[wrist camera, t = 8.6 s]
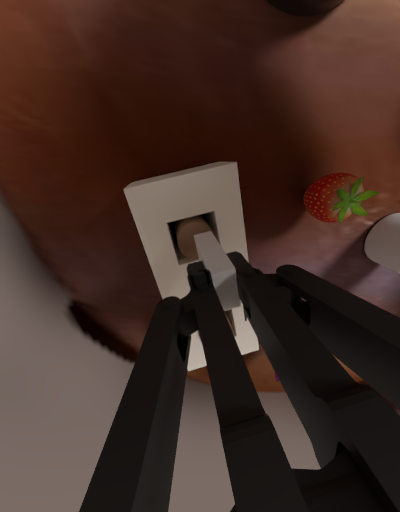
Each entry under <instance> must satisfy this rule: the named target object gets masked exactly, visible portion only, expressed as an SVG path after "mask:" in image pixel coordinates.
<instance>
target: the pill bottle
mask: <svg viewBox="0 0 400 512" xmlns="http://www.w3.org/2000/svg"><path fill="white" fill-rule="evenodd" d="M364 249H365V253H366V255H367V257H368V258H369V259H371V260H372V261H374V262H376V263H378V264H380V265H382V266H384V267H386V268H388V269H390V270H392V271H394V272H396V273H398V274H400V213H395V214H391V215H388V216H386V217H384V218H383V219H381V220H380V221H379V222H378V223H377V224H376V225H375V226H374V227H373V228H372V229H371V231H370V232H369V234H368V236H367V238H366V241H365V246H364Z"/></svg>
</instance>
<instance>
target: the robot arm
mask: <svg viewBox="0 0 400 512" xmlns="http://www.w3.org/2000/svg"><path fill="white" fill-rule="evenodd" d="M268 1H269V2H270V3H271V4H273V5H274V6H275V7H277V8H279V9H280V10H282V11H285V12H287V13H290V14H294V15H300V16H309V15H316V14H320V13H323V12H325V11H327V10H330V9H332V8H333V7H335V6H337V5H338V4H340V3H341V2H342V1H344V0H268ZM194 240H195V244H196V248H197V252H198V257H199V261H198V262H194V263H190V264H188V266H187V273H188V276H187V279H188V282H189V286H190V292H189V293H188V294H187V295H186V296H185V297H183V298H181V299H179V298H178V297H176V296H170V297H166V298H164V299H162V300H161V301H160V302H159V303H158V304H157V306H156V309H155V311H154V314H153V317H152V319H151V322H150V325H149V327H148V330H147V333H146V335H145V338H144V341H143V343H142V346H141V349H140V351H139V354H138V357H137V359H136V362H135V365H134V368H133V370H132V373H131V375H130V378H129V381H128V383H127V386H126V389H125V391H124V394H123V396H122V399H121V402H120V404H119V407H118V410H117V412H116V415H115V418H114V420H113V423H112V426H111V428H110V431H109V434H108V436H107V439H106V442H105V444H104V447H103V450H102V453H101V455H100V458H99V460H98V463H97V466H96V468H95V471H94V474H93V476H92V479H91V482H90V484H89V487H88V490H87V492H86V495H85V497H84V500H83V503H82V506H81V508H80V511H79V512H168V507H169V500H170V492H171V485H172V477H173V470H174V463H175V455H176V448H177V441H178V433H179V426H180V418H181V411H182V403H183V395H184V389H185V388H184V387H185V381H186V374H187V366H188V359H189V352H190V344H191V334H193V333H194V332H196V331H198V330H199V331H200V336H201V341H202V345H203V350H204V355H205V359H206V364H207V369H208V373H209V378H210V382H211V387H212V391H213V396H214V401H215V405H216V410H217V415H218V420H219V424H220V433H221V438H222V443H223V448H224V453H225V458H226V462H227V467H228V471H229V476H230V481H231V486H232V491H233V496H234V500H235V505H234V507H233V508H232V510H231V511H230V512H400V416H399V415H398V414H397V412H396V411H395V410H394V409H393V408H392V407H391V406H390V405H389V404H388V403H387V402H386V401H385V399H384V398H383V397H382V396H381V395H380V394H379V393H381V394H382V395H383V396H384V397H385V398H387V399H388V400H389V401H390V402H392V403H393V404H394V405H395V406H397V407H398V408H399V409H400V318H399V317H397V316H395V315H393V314H391V313H389V312H387V311H385V310H383V309H381V308H379V307H377V306H375V305H373V304H371V303H369V302H367V301H365V300H363V299H361V298H359V297H357V296H355V295H353V294H351V293H349V292H347V291H346V290H344V289H342V288H340V287H338V286H336V285H334V284H332V283H330V282H328V281H326V280H324V279H322V278H320V277H318V276H316V275H314V274H312V273H310V272H308V271H306V270H304V269H302V268H300V267H298V266H295V265H283V266H280V267H278V268H277V270H276V274H263V273H262V272H261V271H260V270H259V269H256V268H252V266H251V265H250V264H249V263H248V261H247V260H246V259H245V258H244V256H243V255H242V254H241V253H239V252H237V251H234V252H230V253H225V252H224V250H223V249H222V247H221V245H220V244H219V242H218V241H217V239H216V238H215V236H214V235H213V233H212V232H211V231H208V232H204V233H200V234H196V235H194ZM302 298H304V299H305V300H306V302H305V301H303V300H302ZM240 300H241V302H242V304H243V310H244V317H245V321H247V319H248V320H249V322H250V324H251V326H252V328H253V330H254V332H255V334H256V336H257V338H258V340H259V342H260V344H261V345H262V347H263V349H264V351H265V353H266V355H267V357H268V359H269V361H270V363H271V365H272V367H273V369H274V370H275V372H276V374H277V376H278V378H279V380H280V382H281V384H282V386H283V388H284V390H285V392H286V394H287V395H288V397H289V399H290V401H291V403H292V405H293V407H294V409H295V411H296V413H297V415H298V417H299V418H300V420H301V422H302V424H303V426H304V428H305V430H306V432H307V434H308V436H309V438H310V440H311V443H312V445H313V448H314V452H315V455H316V458H317V460H318V463H319V465H320V467H321V469H319V470H309V469H291V467H290V464H289V462H288V460H287V457H286V455H285V452H284V450H283V447H282V445H281V443H280V440H279V438H278V436H277V433H276V431H275V428H274V426H273V424H272V421H271V419H270V418H269V416H268V415H267V414H266V413H265V411H264V409H263V407H262V405H261V402H260V399H259V397H258V394H257V392H256V389H255V387H254V384H253V382H252V379H251V377H250V374H249V372H248V370H247V367H246V365H245V362H244V360H243V357H242V355H241V352H240V350H239V347H238V345H237V342H236V340H235V337H234V335H233V332H232V330H231V327H230V325H229V322H228V320H227V317H226V315H225V312H224V311H225V310H228V309H232V308H236V307H239V306H241V303H240ZM332 354H333V355H334V356H335V357H336V358H338V359H339V360H340V361H341V362H342V363H344V364H345V365H346V366H347V367H349V368H350V369H351V370H352V371H354V372H355V373H356V374H357V375H358V376H360V377H361V378H362V379H363V380H365V381H366V382H367V383H368V384H369V385H371V386H372V387H373V388H374V389H373V388H372V387H370V386H368V385H364V384H363V385H362V384H358V383H357V382H356V381H354V380H353V379H352V377H351V376H350V375H349V374H348V373H347V372H346V370H345V369H344V368H343V367H342V366H341V364H340V363H339V362H338V361H337V360H336V359H335V357H334V356H333V355H332ZM375 389H376V390H377V391H378V392H379V393H378V392H377V391H376V390H375Z"/></svg>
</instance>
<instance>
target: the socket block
mask: <svg viewBox="0 0 400 512" xmlns="http://www.w3.org/2000/svg"><path fill="white" fill-rule="evenodd" d="M123 190H124V193H125V196H126V199H127V201H128V204H129V207H130V210H131V213H132V215H133V218H134V221H135V224H136V227H137V229H138V232H139V235H140V238H141V241H142V243H143V246H144V249H145V252H146V255H147V257H148V260H149V263H150V266H151V269H152V271H153V274H154V277H155V280H156V282H157V285H158V288H159V291H160V294H161V296H162V299H164V298H166V297H170V296H176V297H178V298H179V299H181V298H183V297H185V296H186V295H187V294H188V293H189V292H190V286H189V282H188V279H187V276H188V273H187V266H188V264H190V263H194V262H198V261H199V259H191V258H188V257H186V256H185V255H183V254H182V252H181V251H180V249H179V246H178V244H175V243H174V239H173V236H172V232H171V228H170V225H169V222H172V221H176V220H180V219H184V218H188V217H192V216H196V215H200V214H204V213H205V214H206V219H207V224H208V225H209V227H210V228H211V229H212V231H213V232H214V234H215V238H216V239H217V241H218V242H219V244H220V245H221V247H222V249H223V250H224V252H225V253H230V252H234V251H237V252H239V253H241V254H242V255H243V256H244V258H245V259H246V260H247V261H248V253H247V244H246V236H245V227H244V219H243V210H242V202H241V193H240V185H239V177H238V168H237V162H215V163H211V164H207V165H203V166H198V167H194V168H190V169H186V170H182V171H177V172H173V173H169V174H165V175H160V176H156V177H152V178H148V179H144V180H139V181H135V182H131V183H130V184H129V185H128V186H126V187H125V188H124V189H123ZM248 263H249V261H248ZM240 303H241V306H239V307H236V308H232V309H228V310H225V312H226V314H227V317H228V319H229V321H230V324H231V326H232V332H233V335H234V337H235V340H236V342H237V345H238V347H239V350H240V352H241V355H244V354H247V353H250V352H253V351H257V350H259V346H258V338H257V336H256V334H255V332H254V330H253V328H252V326H251V324H250V322H249V320H248V319H247V321H245V317H244V310H243V304H242V302H241V300H240ZM204 366H207V364H206V359H205V355H204V350H203V345H202V341H201V336H200V331H199V330H198V331H196V332H194V333H193V334H191V344H190V352H189V359H188V366H187V369H188V371H191V370H194V369H198V368H201V367H204Z"/></svg>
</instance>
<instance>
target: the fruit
mask: <svg viewBox="0 0 400 512" xmlns="http://www.w3.org/2000/svg"><path fill="white" fill-rule="evenodd" d="M363 178H364V177H363ZM363 178H360V179H359V178H357V177H356V176H354V175H351V174H347V173H335V174H330V175H326V176H323V177H321V178H319V179H317V180H316V181H314V182H313V183H312V184H311V185H310V186H309V187H308V188H307V189H306V191H305V193H304V197H303V201H304V205H305V207H306V209H307V211H308V212H309V213H310V214H311V215H312V216H314V217H315V218H316V219H319V220H321V221H324V222H337V221H339V224H340V222H341V221H342V220H343V219H345V218H347V217H349V216H350V215H351V214H352V213H355V214H357V215H368V214H367V213H366V212H365V210H364V209H363V208H362V207H361V206H360V205H359V204H363V203H361V201H363V200H366V199H368V198H370V197H372V196H374V195H376V194H378V193H380V192H377V191H365V192H364V187H363V184H362V182H361V181H362V179H363Z"/></svg>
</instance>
